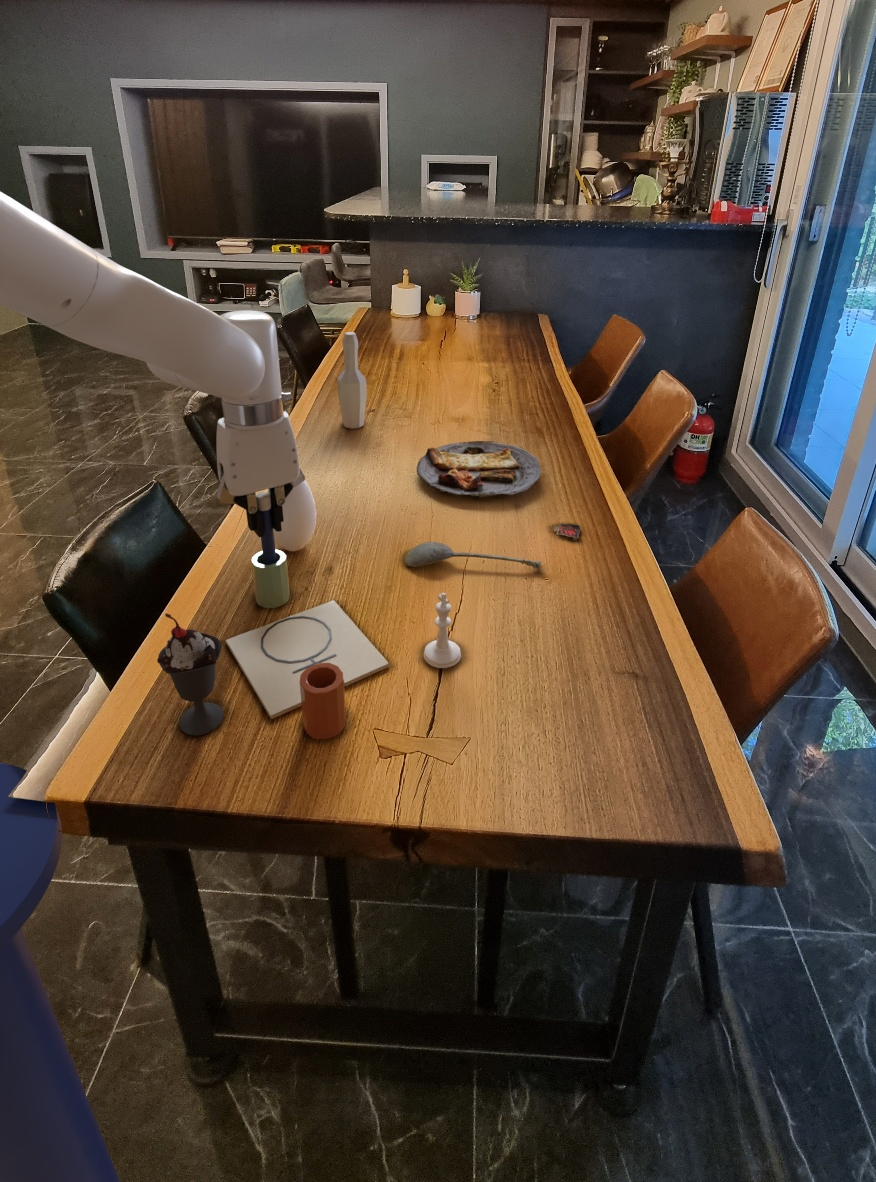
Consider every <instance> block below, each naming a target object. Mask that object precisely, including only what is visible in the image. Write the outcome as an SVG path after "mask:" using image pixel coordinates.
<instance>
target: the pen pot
mask: <svg viewBox="0 0 876 1182" xmlns="http://www.w3.org/2000/svg"><path fill="white" fill-rule="evenodd" d="M300 693H301V704H302V706H301V715H302V724H303V729H304V731H305V733H306V735H308V736H309V737H311V738H313V739H316V740H328V739H332V738H334V737H336V736H338V735H339V734H340V733H341V732H342V731H343V730H344V728H345V726H346V721H347V720H346V718H347V717H346V716H347V715H346V714H347V713H346V695H345V687H344V675H343V672H342V670H341V669H340V668H339V667H338V666H337V665H334V664H331V663H317V664H315V665H312V666H310V667H308V668H306V670H305V671H304V672H303V673H302V674H301V676H300Z"/></svg>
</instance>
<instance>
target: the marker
mask: <svg viewBox="0 0 876 1182" xmlns="http://www.w3.org/2000/svg"><path fill="white" fill-rule="evenodd" d="M256 501H257V506H258V509H259V510H260V511H261V513H262V519H263V528H264V535H263V537H260V540H261V551H263V560H264V565H271V564H274V563H277V560H276V550H275V549H276V542H275V541H274V531H273V522H272V513H271V500H270V494H269V493H268V491H267V492H266V491H260V492H257V493H256Z"/></svg>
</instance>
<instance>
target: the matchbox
mask: <svg viewBox="0 0 876 1182" xmlns="http://www.w3.org/2000/svg"><path fill="white" fill-rule="evenodd" d="M552 528H553V532H555V533H556V535H560V536H565V537H568V538H570V537H571V538H572V540H573V541H579V539H578V538H579V537H580V536H579V535H580V533H581V527H580V525H579V524H574V523H560V524H559V525H554V526H553V527H552Z"/></svg>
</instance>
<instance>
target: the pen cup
mask: <svg viewBox="0 0 876 1182" xmlns="http://www.w3.org/2000/svg"><path fill="white" fill-rule="evenodd" d="M275 550H276V560H277V563H274V564H271V565H264V560H263V551H262V550H261V551H258V552H256V553H255V554H254V555H253V556H252V557H251V561H250V564H251V572H252V581H253V590H254V598H255V602H256V604H257V605H258V606H259V607H261V608H265V609H274V608H279V607H281V606H284V605H285V604H286V603H287V602H288V601H289V600H290V594H291V593H290V592H291V591H290V581H289V579H290V578H289V570H288V559H287V554H286V553H285V552H284V551H283V550H279V549H277V548H275Z"/></svg>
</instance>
